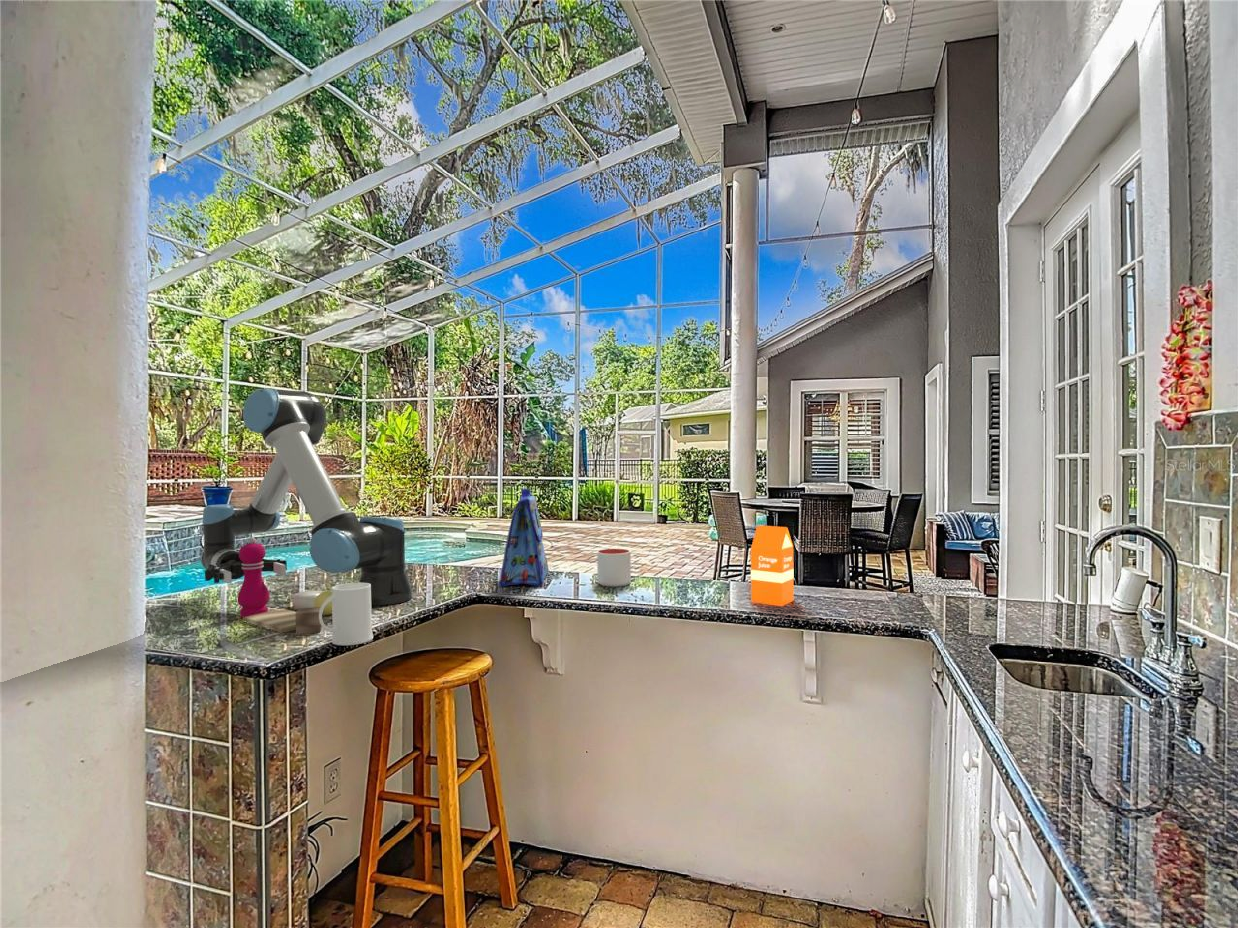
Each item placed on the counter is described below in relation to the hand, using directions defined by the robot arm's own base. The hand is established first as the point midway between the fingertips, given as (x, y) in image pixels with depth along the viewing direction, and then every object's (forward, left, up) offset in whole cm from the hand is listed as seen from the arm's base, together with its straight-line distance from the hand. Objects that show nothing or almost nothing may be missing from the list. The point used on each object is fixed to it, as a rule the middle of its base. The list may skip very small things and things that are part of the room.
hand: (257, 574), depth 171 cm
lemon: (-16, -2, -11) cm, 20 cm away
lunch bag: (-61, -43, -11) cm, 76 cm away
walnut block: (-18, +13, -11) cm, 25 cm away
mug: (-30, +22, -11) cm, 39 cm away
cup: (-89, -34, -11) cm, 96 cm away
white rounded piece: (-7, -12, -11) cm, 18 cm away
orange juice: (-131, -9, -11) cm, 132 cm away
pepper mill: (+3, -3, -11) cm, 12 cm away
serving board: (-8, +5, -11) cm, 15 cm away
